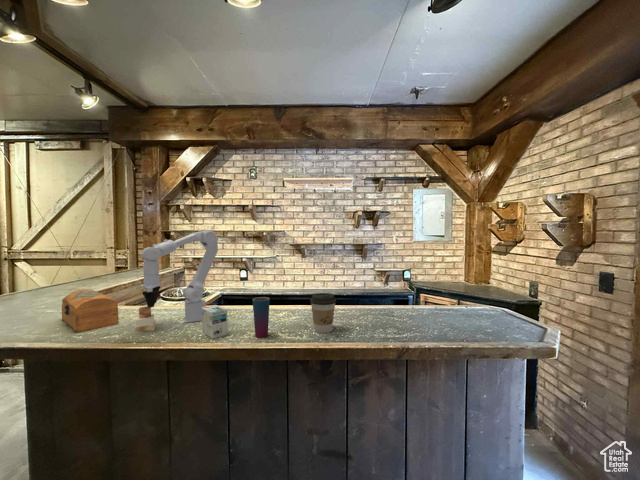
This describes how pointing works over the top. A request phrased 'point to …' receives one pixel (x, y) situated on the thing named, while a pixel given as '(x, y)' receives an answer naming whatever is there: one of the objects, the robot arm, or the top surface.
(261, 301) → the cup
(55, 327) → the top surface
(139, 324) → the tower top
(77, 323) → the wooden box
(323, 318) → the coffee cup
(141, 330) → the tower base
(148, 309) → the cylinder
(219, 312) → the light bulb box
